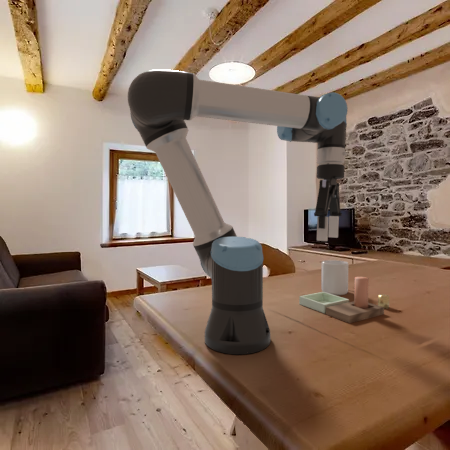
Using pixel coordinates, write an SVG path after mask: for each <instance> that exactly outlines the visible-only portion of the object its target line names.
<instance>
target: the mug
mask: <svg viewBox="0 0 450 450" xmlns="http://www.w3.org/2000/svg"><path fill="white" fill-rule="evenodd" d="M320 281H321V292H326V293H329V294H332V295H336V296H343V295H347V294H348V292H349V262H348V261H344V260H337V259H326V260H322V261H321V280H320Z"/></svg>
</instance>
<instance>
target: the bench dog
mask: <svg viewBox="0 0 450 450" xmlns="http://www.w3.org/2000/svg"><path fill="white" fill-rule="evenodd" d="M377 305H378V306H382V307H384V310H386V309H390V295H389V294H386V293H385V294H384V293H380V294H378V295H377Z"/></svg>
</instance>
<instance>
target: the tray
mask: <svg viewBox="0 0 450 450" xmlns="http://www.w3.org/2000/svg"><path fill="white" fill-rule="evenodd" d="M298 297H299V299H298V300H299V301H298V302H299V305H300V306H303V307H306V308H308V309H311V310H314V311H317V312H318V313H322V314H325V315H326V307H330V306H335V305H340V304H344V303H349V302H350V299H349V298H346V297H341V296H340V295H332V294H329V293H326V292H323V291H321V292H320V291H319V292H315V293H309V294H304V295H299V296H298Z"/></svg>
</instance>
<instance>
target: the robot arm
mask: <svg viewBox="0 0 450 450" xmlns="http://www.w3.org/2000/svg"><path fill="white" fill-rule="evenodd" d="M127 105H128V107H129V111H130V119H131V121H132V124H133V126H134V128H135V129H136V130H137V132H138V133H139V136H140V137H141V139H142V141H143V144H144V146H145V147H146V149H147V150H150V151H152V152H154V153H155V155H156V157H157V158H158V161H159V163H160V165H161V167H162V169H163V172H164V174H165V175H166V178H167V180H168V182H169V184H170V187H171V189H172V190H173V192H174V194H175V197H176V199H177V201H178V203H179V206H180V207H181V210H182V211H183V213H184V215H185V218H186V220H187V222H188V224H189V226H190V229H191V230H192V232H193V235H194V239H193V242H192V246H193V248H194V250H195V252H196V255H197V256H198V259H199V262H200V267H201V268H202V270H203V271H204V273H205V275H207V276H208V277H209V278H210V279H211V306H212V307H211V309H210V310H211V311H210V312H209V316H208V319H207V323H206V326H205V329H204V343H205V345H206V346H207V347H208V348H209V349H211V350H212V351H216V352H217V353H222V354H227V355H228V354H229V355H248V354H255V353H259V352H260V351H263V350H265V349H266V348H268V346H270V344H271V328H270V326H269V323H268V321H267V316H266V314H265V311H264V307H263V305H264V303H263V301H264V296H263V295H264V294H263V292H264V287H263V286H264V285H263V283H264V280H263V279H264V276H263V275H264V274H263V273H264V271H263V270H264V268H263V267H264V253H263V246H262V244H261V242H259V241H258V240H256V239H253V238H250V237H245V236H238V235H237V233H236V231H235V230H234V226H233V225H231V224H228V223H226V222H225V220H224V219H223V216H222V215H221V212H220V210H219V208H218V206H217V203H216V201H215V199H214V197H213V194H212V193H211V191H210V188H209V186H208V184H207V182H206V179H205V177H204V175H203V173H202V171H201V168H200V167H199V163H198V162H197V160H196V158H195V156H194V154H193V151H192V149H191V147H190V144H189V143H188V140H187V137H188V132H189V128H188V125H187V124H186V121H192V120H193V119H194V118H195V117H196V118H197V117H199V118H205V119H206V118H207V119H214V120H225V121H231V122H239V123H240V122H242V123H251V124H255V125H256V124H259V125H265V126H275V127H276V133H277V137H278V139H279V140H280V141H286V142H289V143H291V142H297V143H298V142H299V143H313V144H317V154H316V155H317V156H316V164H317V166H316V178H317V179H318V180H319V186H318V193H317V199H316V205H315V206H316V207H315V211H314V213H313V215H314V217H316V219H317V221H316V222H317V223H316V241H317V242H320V241H321V242H328V240H329V239H328V238H336V239H337V238H339V222H340V221H339V219H340V217H341V216H342V215H343V213H342V212H341V202H340V201H341V199H340V198H341V197H340V183H337V180H342V179H344V177H345V169H346V168H345V165H344V163H345V159H346V157H345V156H347V155H348V152H347V151H346V141H347V139H346V138H347V137H346V135H347V126H348V125H347V124H348V123H347V115H348V104H347V101H346V99H345V98H344V97H343V95H342V94H340V93H338V92H333V91H332V92H327V93H323V94H322V95H320V96H312V95H304V94H298V93H291V92H285V91H279V90H273V89H272V90H271V89H265V88H260V87H259V88H258V87H252V86H245V85H239V84H232V83H225V82H217V81H211V80H205V79H200V78H198V76H197V75H196V74H195V73H194V72H193V73H192V72H187V71H183V70H182V71H181V70H180V71H179V70H173V69H172V70H171V69H150V70H146V71H143V72H141V73H140V74H138V75H136V77H134V79H132V81H131V83H130V85H129V87H128V91H127ZM328 213H329V216H328Z"/></svg>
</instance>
